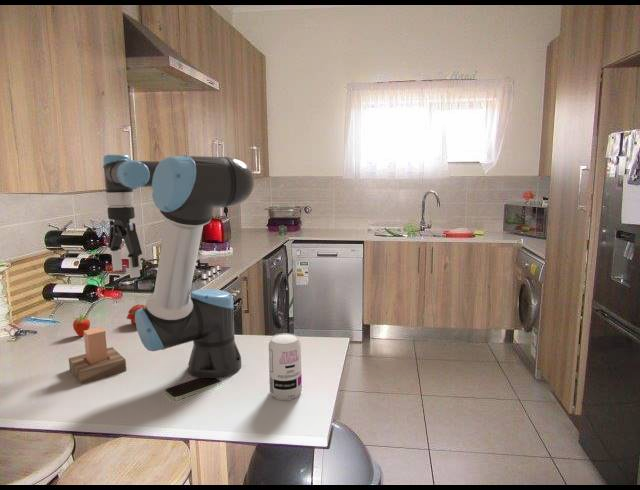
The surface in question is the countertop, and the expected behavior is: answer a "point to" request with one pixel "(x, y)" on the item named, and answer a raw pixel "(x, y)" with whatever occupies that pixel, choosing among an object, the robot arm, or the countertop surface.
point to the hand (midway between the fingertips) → (126, 273)
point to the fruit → (81, 325)
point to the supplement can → (285, 366)
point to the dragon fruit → (132, 313)
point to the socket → (97, 366)
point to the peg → (95, 345)
